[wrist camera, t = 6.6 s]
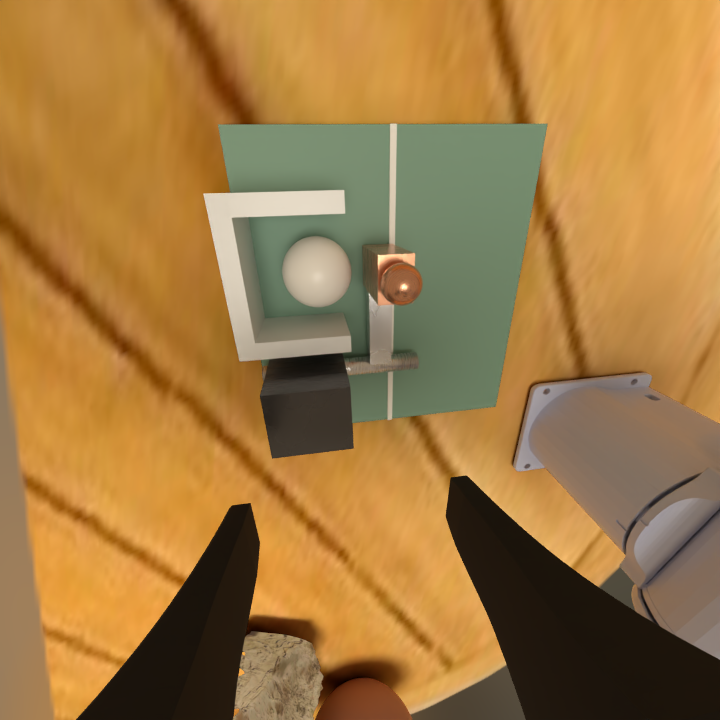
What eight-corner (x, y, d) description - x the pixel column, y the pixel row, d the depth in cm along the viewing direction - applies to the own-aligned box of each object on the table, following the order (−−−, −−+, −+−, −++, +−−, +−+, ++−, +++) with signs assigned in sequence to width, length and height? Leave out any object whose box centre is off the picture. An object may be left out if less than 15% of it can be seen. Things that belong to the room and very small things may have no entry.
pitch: (534, 128, 16) (548, 123, 15) (488, 398, 23) (496, 407, 22) (223, 130, 14) (217, 124, 13) (275, 422, 21) (273, 432, 20)
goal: (336, 193, 15) (344, 190, 12) (343, 326, 18) (351, 351, 15) (226, 197, 14) (203, 193, 11) (252, 333, 17) (239, 361, 14)
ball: (347, 238, 13) (268, 240, 13) (351, 315, 14) (279, 316, 14) (351, 232, 16) (286, 234, 16) (353, 296, 17) (294, 298, 17)
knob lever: (418, 242, 16) (468, 256, 11) (412, 380, 20) (448, 438, 15) (243, 250, 15) (211, 271, 10) (269, 394, 19) (255, 462, 14)
